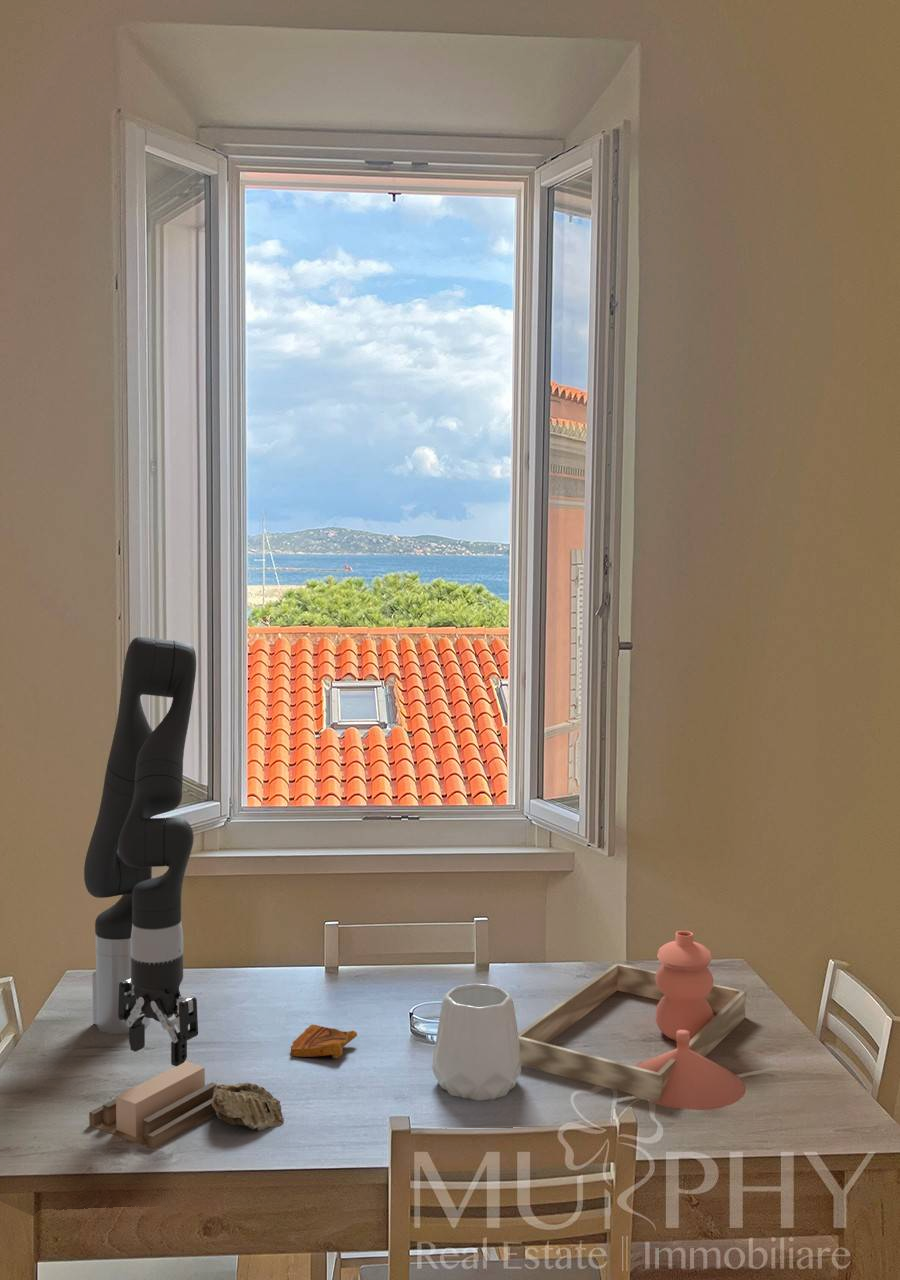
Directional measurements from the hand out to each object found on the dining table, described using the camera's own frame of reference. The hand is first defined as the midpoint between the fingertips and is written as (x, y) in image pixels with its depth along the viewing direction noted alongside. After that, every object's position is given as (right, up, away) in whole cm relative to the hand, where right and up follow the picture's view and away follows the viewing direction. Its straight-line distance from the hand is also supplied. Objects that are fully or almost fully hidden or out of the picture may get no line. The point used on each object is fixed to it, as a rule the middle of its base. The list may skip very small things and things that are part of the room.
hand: (157, 1056), depth 178 cm
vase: (+48, -9, +12) cm, 50 cm away
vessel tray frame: (+76, -8, +30) cm, 82 cm away
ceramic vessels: (+82, -9, +20) cm, 85 cm away
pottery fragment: (+27, -7, +24) cm, 37 cm away
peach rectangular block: (0, -9, +1) cm, 9 cm away
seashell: (+14, -9, -5) cm, 17 cm away
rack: (0, -10, +1) cm, 10 cm away
